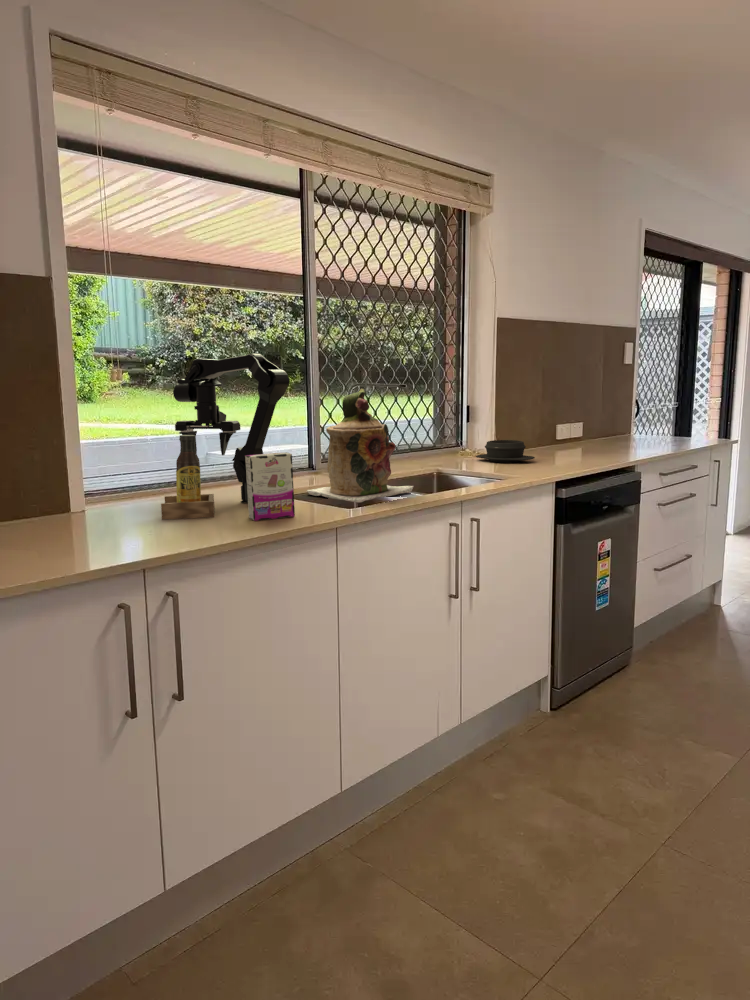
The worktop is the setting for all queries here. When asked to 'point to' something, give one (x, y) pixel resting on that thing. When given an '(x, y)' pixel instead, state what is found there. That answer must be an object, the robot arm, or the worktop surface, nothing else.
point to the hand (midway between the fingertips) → (209, 455)
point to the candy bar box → (270, 486)
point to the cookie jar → (359, 455)
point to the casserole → (505, 451)
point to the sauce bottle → (188, 471)
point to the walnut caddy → (188, 508)
